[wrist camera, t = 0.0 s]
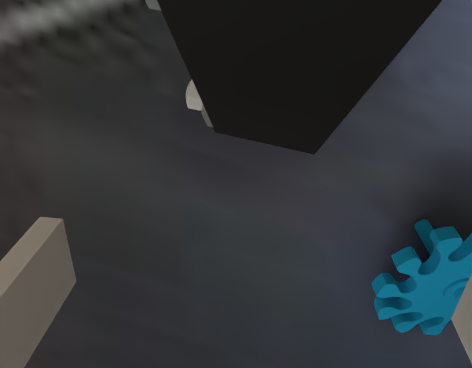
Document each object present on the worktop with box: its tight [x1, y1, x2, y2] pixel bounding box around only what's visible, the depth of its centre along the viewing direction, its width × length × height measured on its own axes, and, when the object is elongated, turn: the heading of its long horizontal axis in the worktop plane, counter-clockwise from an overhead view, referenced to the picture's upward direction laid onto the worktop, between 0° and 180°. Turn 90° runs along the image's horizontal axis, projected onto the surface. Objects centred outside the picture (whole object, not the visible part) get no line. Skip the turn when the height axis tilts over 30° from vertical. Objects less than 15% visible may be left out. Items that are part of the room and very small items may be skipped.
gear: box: [371, 220, 472, 335], centre depth 25 cm, size 11×6×10 cm
